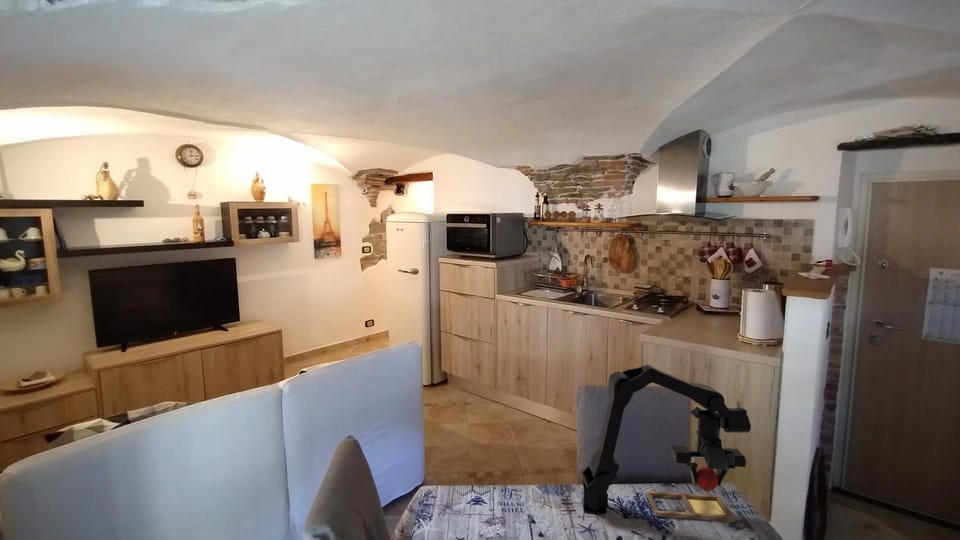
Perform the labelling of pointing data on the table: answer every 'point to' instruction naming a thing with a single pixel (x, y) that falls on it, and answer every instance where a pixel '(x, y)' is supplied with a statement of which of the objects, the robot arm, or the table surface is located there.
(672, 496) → the wooden divided frame
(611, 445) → the robot arm
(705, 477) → the red pomegranate
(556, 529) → the table surface
